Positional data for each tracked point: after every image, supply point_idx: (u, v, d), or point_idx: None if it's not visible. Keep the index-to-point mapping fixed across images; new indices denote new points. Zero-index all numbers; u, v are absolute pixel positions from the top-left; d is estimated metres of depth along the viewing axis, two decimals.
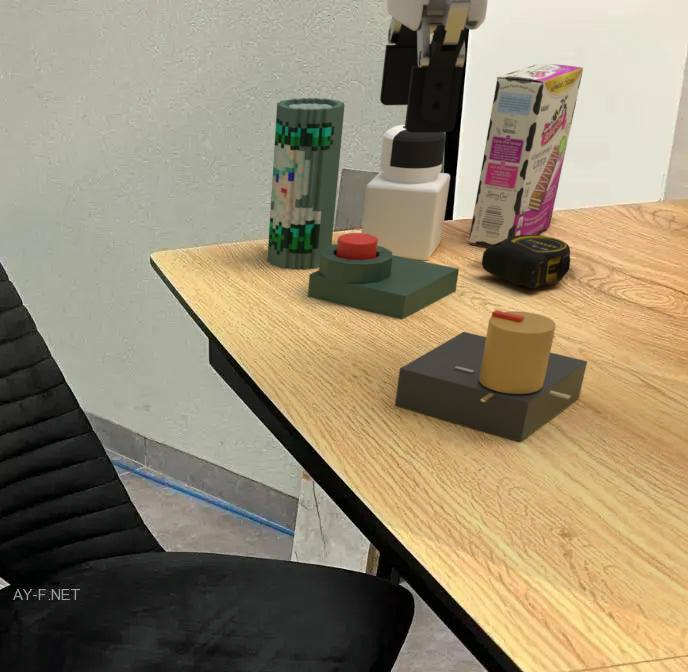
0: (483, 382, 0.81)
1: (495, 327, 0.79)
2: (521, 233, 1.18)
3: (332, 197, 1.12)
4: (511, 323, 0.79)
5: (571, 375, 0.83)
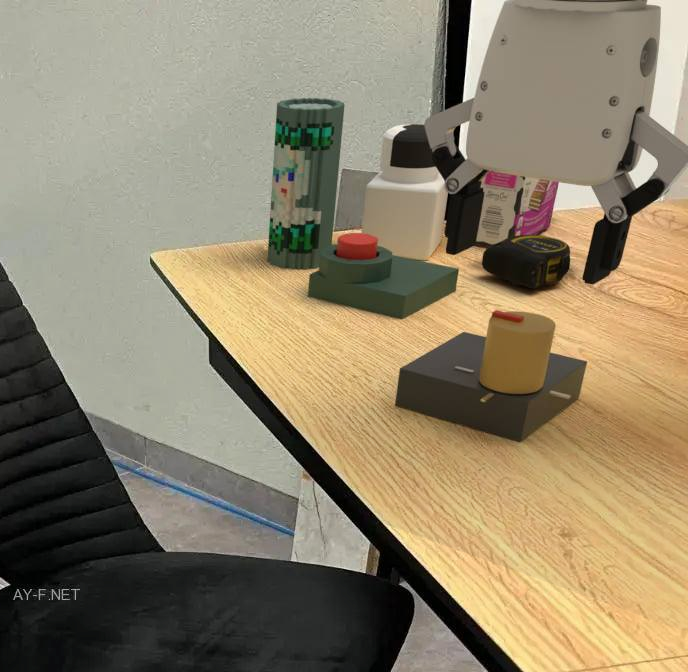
0: (483, 382, 0.81)
1: (495, 327, 0.79)
2: (521, 233, 1.18)
3: (332, 197, 1.12)
4: (511, 323, 0.79)
5: (571, 375, 0.83)
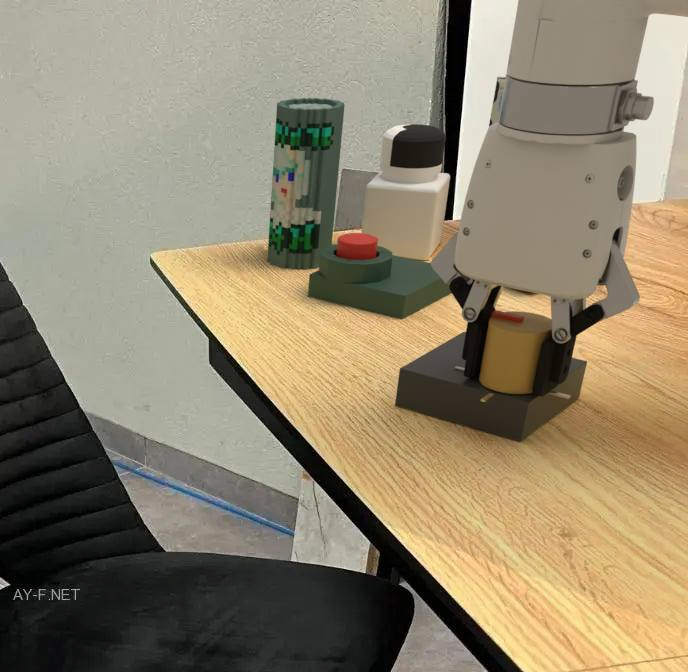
0: (483, 382, 0.81)
1: (495, 327, 0.79)
2: None
3: (332, 197, 1.12)
4: (511, 323, 0.79)
5: (571, 375, 0.83)
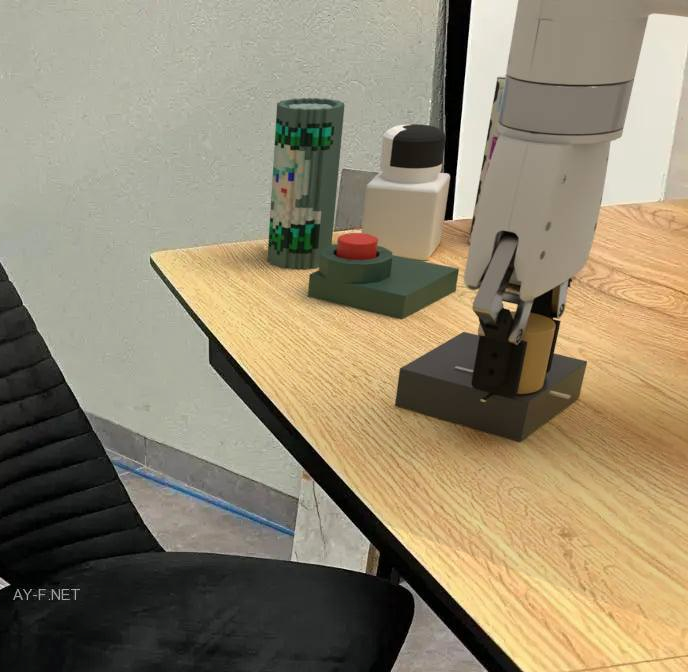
0: (528, 390, 0.80)
1: (542, 333, 0.78)
2: None
3: (332, 197, 1.12)
4: (531, 326, 0.79)
5: (571, 375, 0.83)
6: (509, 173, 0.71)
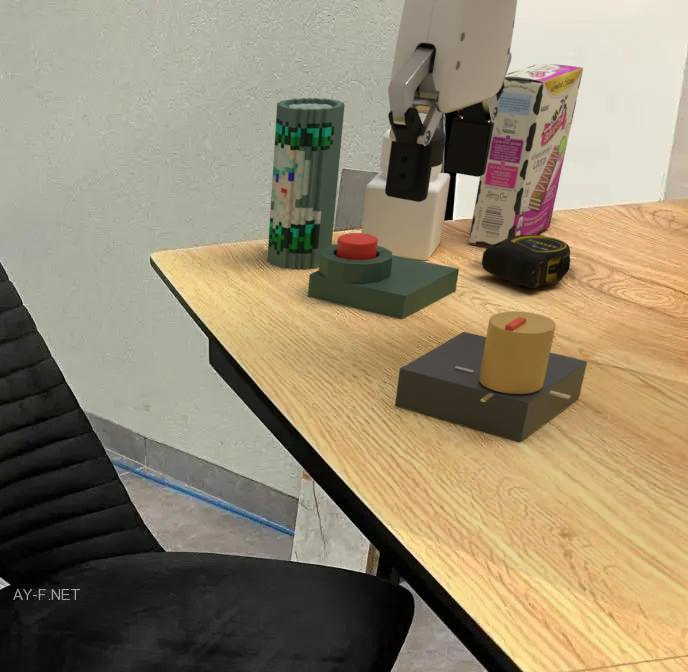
0: (528, 390, 0.80)
1: (542, 333, 0.78)
2: (521, 233, 1.18)
3: (332, 197, 1.12)
4: (531, 326, 0.79)
5: (571, 375, 0.83)
6: None
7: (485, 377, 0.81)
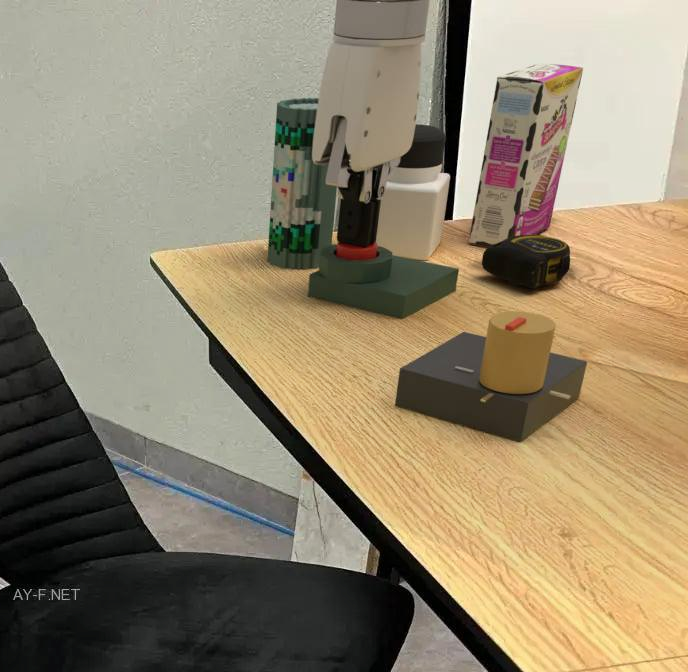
0: (528, 390, 0.80)
1: (542, 333, 0.78)
2: (521, 233, 1.18)
3: (332, 197, 1.12)
4: (531, 326, 0.79)
5: (571, 375, 0.83)
6: (338, 70, 0.94)
7: (485, 377, 0.81)
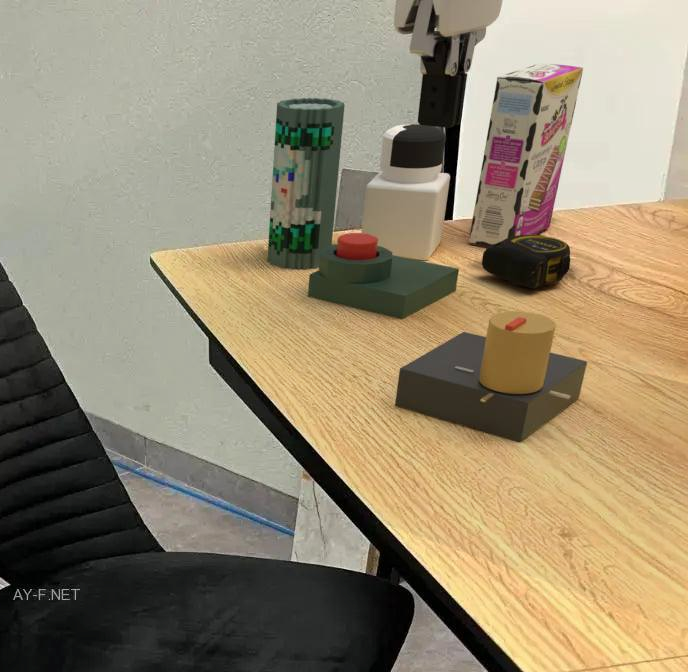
0: (528, 390, 0.80)
1: (542, 333, 0.78)
2: (521, 233, 1.18)
3: (332, 197, 1.12)
4: (531, 326, 0.79)
5: (571, 375, 0.83)
6: None
7: (485, 377, 0.81)
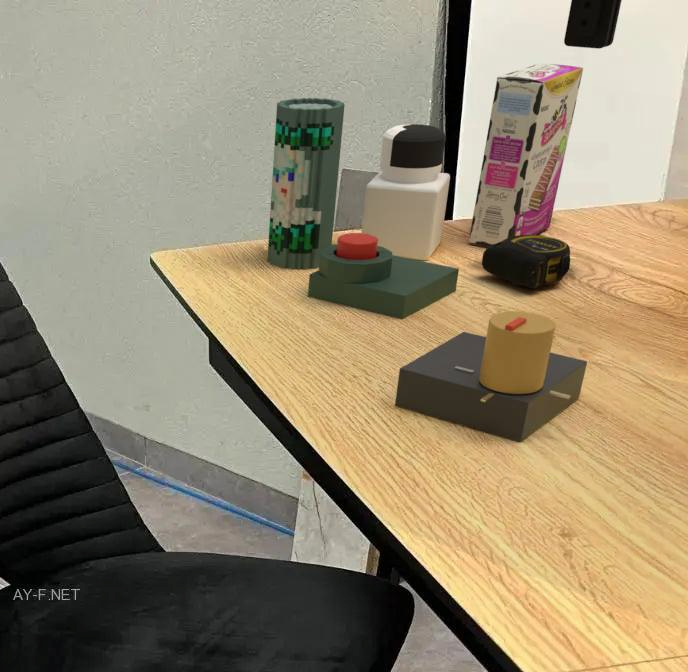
0: (528, 390, 0.80)
1: (542, 333, 0.78)
2: (521, 233, 1.18)
3: (332, 197, 1.12)
4: (531, 326, 0.79)
5: (571, 375, 0.83)
6: None
7: (485, 377, 0.81)
